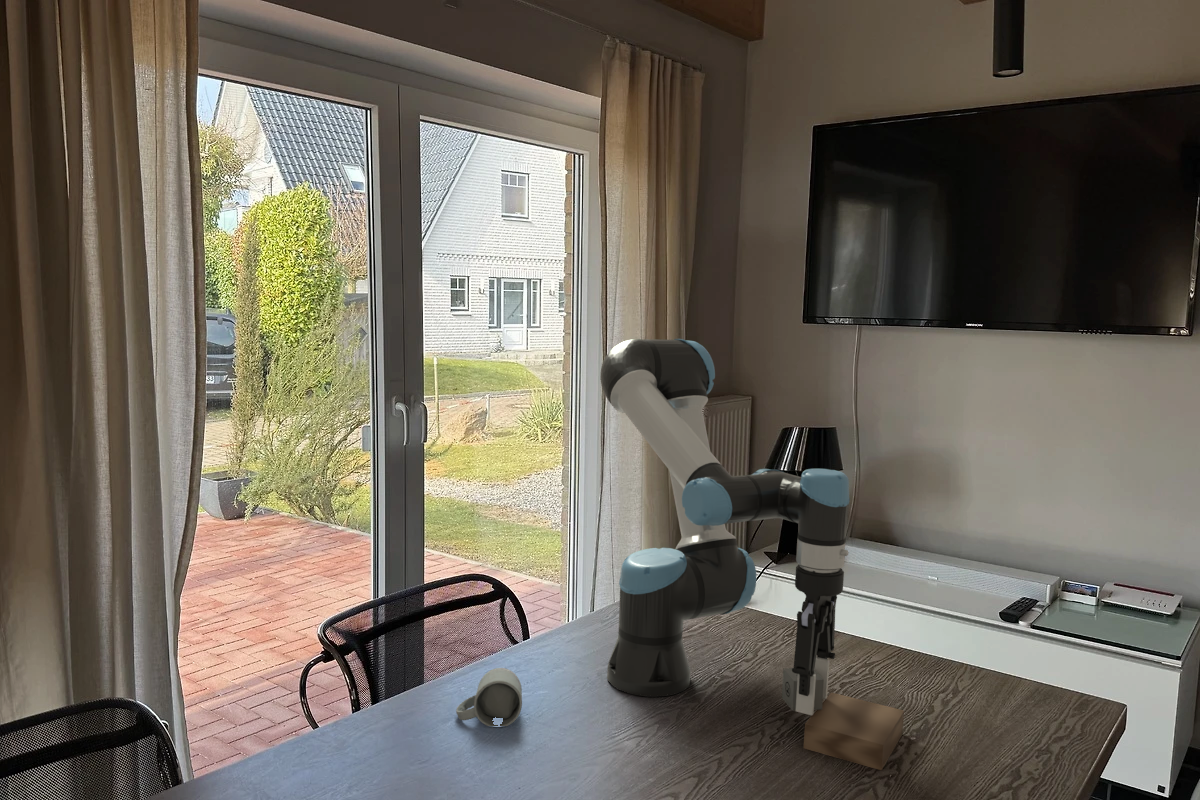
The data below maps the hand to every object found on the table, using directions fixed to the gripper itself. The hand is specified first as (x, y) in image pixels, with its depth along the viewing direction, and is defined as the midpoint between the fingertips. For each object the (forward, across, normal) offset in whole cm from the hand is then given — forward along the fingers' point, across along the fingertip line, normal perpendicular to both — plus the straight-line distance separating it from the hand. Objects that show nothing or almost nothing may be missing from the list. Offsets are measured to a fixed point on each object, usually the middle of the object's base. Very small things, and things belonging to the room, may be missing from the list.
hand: (811, 704), depth 147 cm
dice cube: (0, 0, +2) cm, 2 cm away
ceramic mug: (+5, -26, +45) cm, 52 cm away
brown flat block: (+4, 0, -7) cm, 8 cm away
